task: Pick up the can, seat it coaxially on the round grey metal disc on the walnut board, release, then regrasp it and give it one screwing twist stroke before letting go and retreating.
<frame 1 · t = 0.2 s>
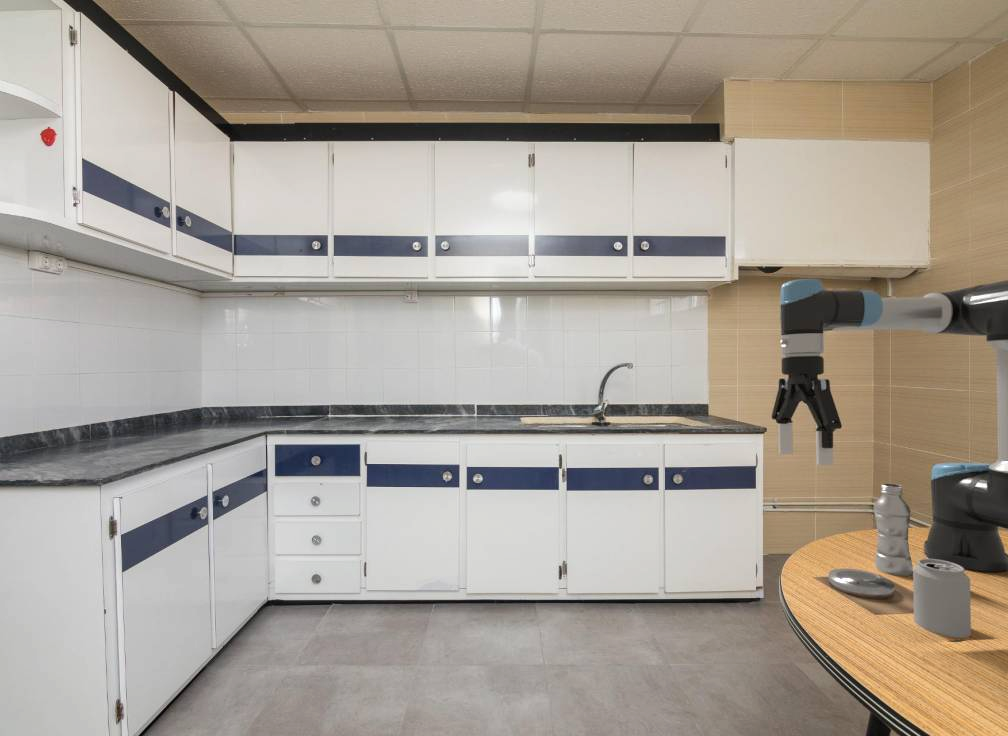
hand: (803, 459, 105), 28 cm above the table, fingers open, 13 cm apart
can: (941, 634, 89), on the table
board: (877, 598, 102), on the table
seat: (860, 587, 104), resting on board
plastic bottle: (893, 576, 113), on the table
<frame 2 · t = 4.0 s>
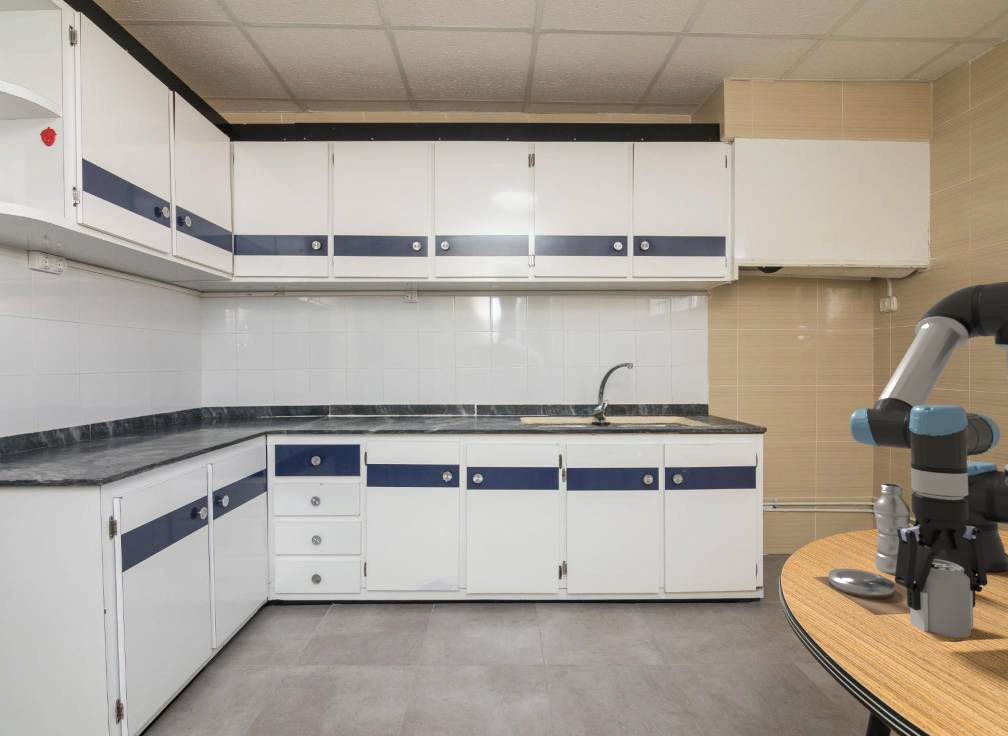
hand: (941, 626, 89), 1 cm above the table, fingers closed on can, 7 cm apart
can: (941, 634, 89), on the table, touching gripper
everything else where it was.
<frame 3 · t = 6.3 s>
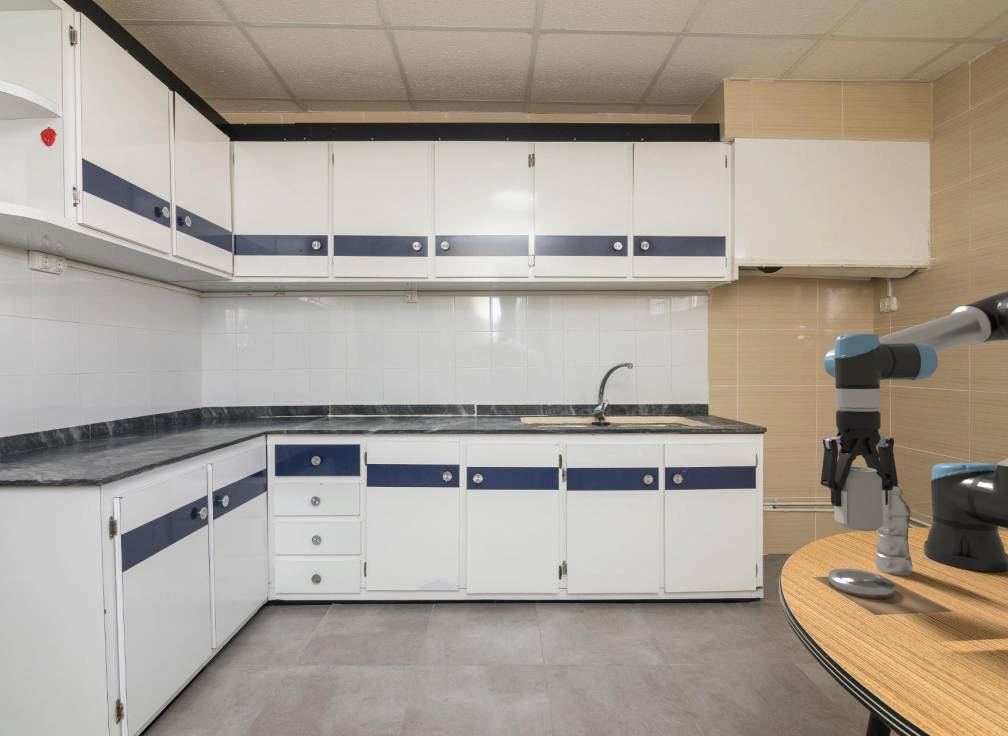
hand: (859, 521, 104), 15 cm above the table, fingers closed on can, 7 cm apart
can: (860, 527, 104), point 13 cm above the table, touching gripper
everything else where it was.
when the fingers open (5 cm above the table, at t = 8.8 s): can stays where it is, resting on seat.
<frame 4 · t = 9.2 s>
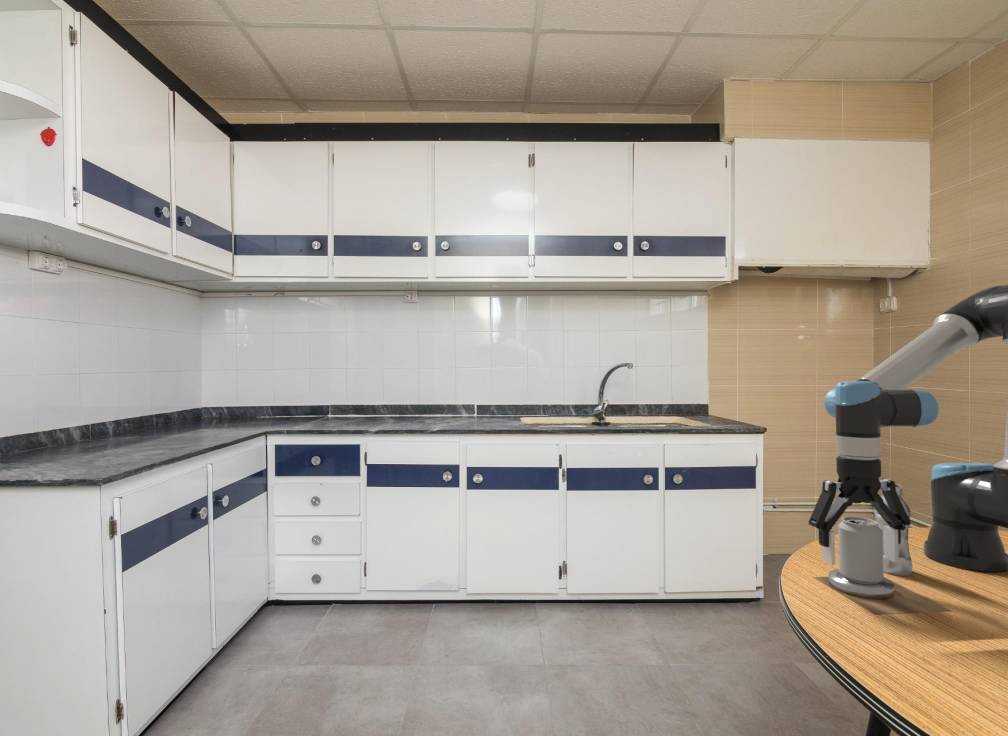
hand: (860, 561, 104), 7 cm above the table, fingers open, 13 cm apart
can: (860, 579, 104), point 3 cm above the table, touching seat
everything else where it was.
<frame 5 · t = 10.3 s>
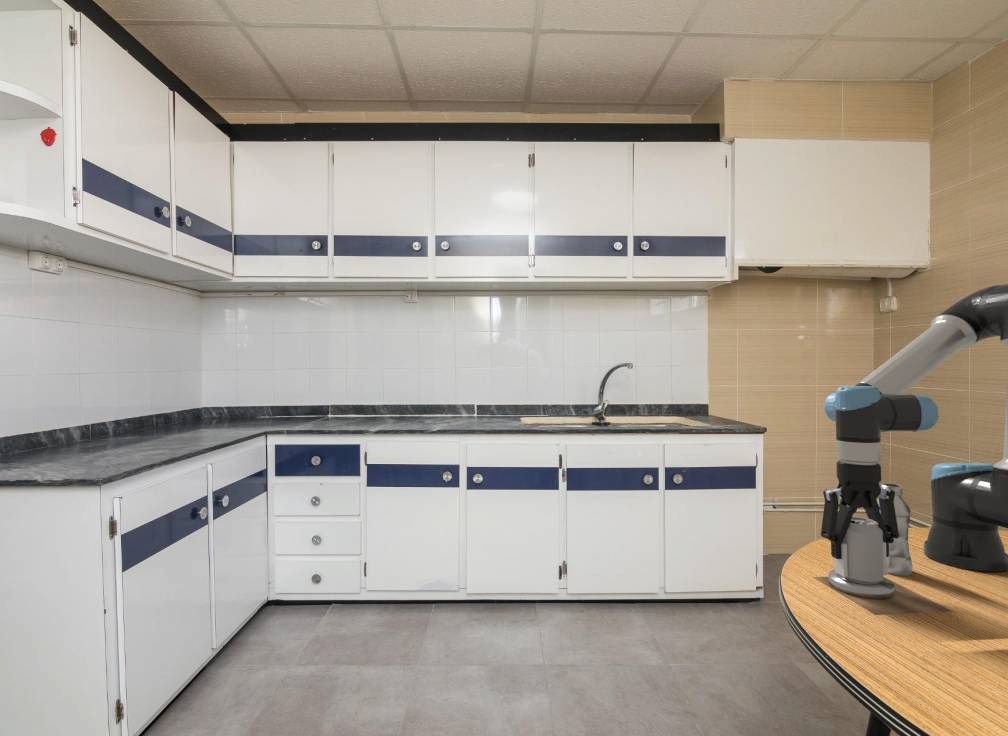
hand: (860, 573, 104), 4 cm above the table, fingers closed on can, 8 cm apart
can: (860, 579, 104), point 3 cm above the table, touching gripper, seat
everything else where it was.
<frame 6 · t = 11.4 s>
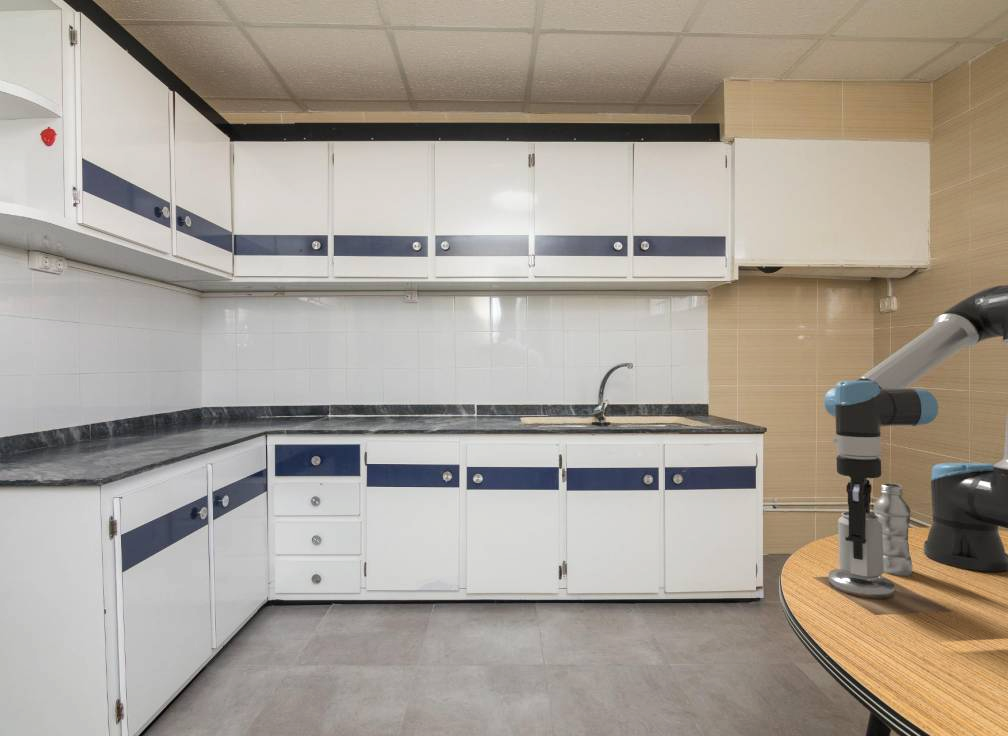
hand: (861, 567, 104), 5 cm above the table, fingers closed on can, 7 cm apart
can: (861, 574, 104), point 4 cm above the table, touching gripper
everything else where it was.
when the fingers open (6 cm above the table, at t = 12.5 s): can drops 1 cm, resting on seat.
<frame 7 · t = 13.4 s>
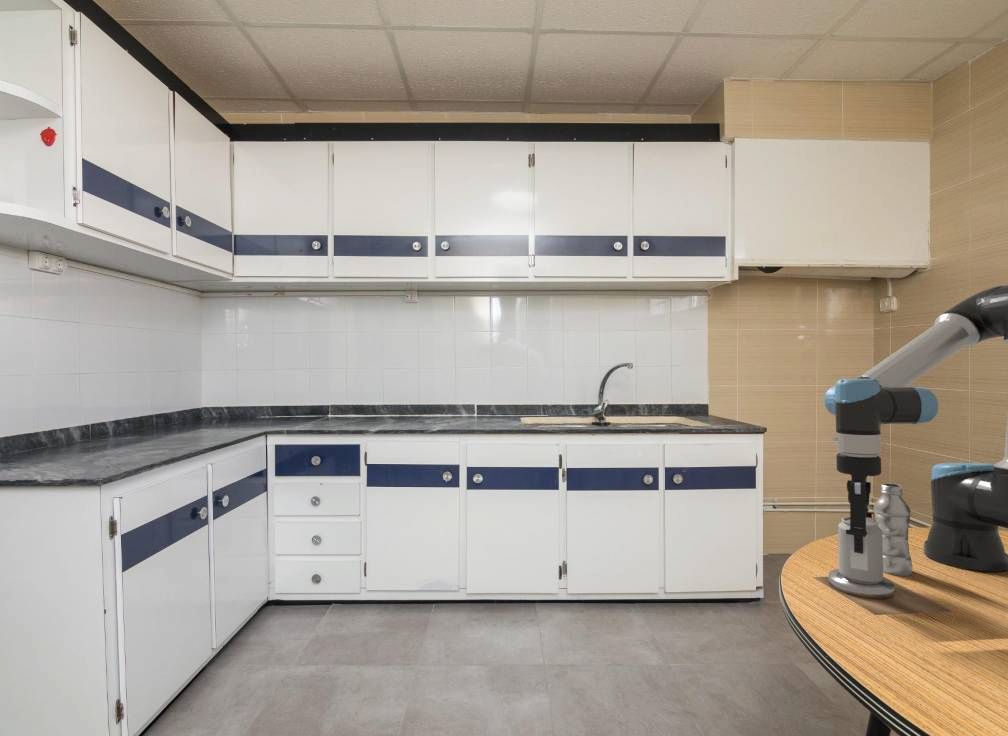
hand: (860, 558, 104), 7 cm above the table, fingers open, 13 cm apart
can: (860, 579, 104), point 3 cm above the table, touching seat
everything else where it was.
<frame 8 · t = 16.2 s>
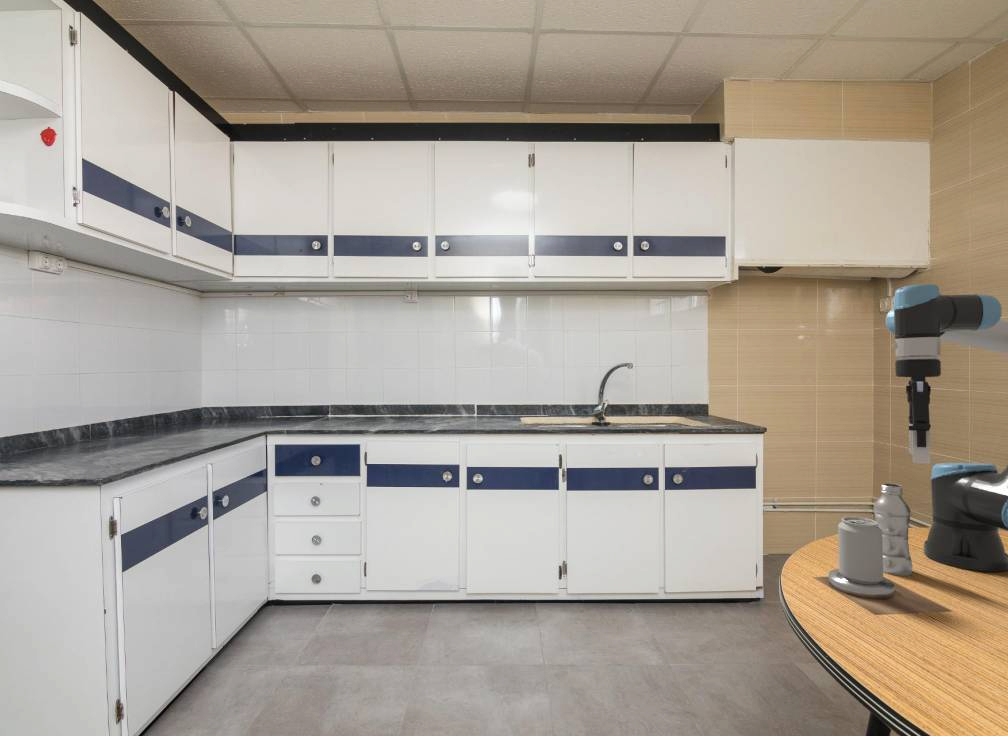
hand: (919, 458, 109), 27 cm above the table, fingers open, 13 cm apart
nothing on the table moved.
at the end: can 0.1 cm from the seat (horizontally); can tilted 0°; can point 2.9 cm above the table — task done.
